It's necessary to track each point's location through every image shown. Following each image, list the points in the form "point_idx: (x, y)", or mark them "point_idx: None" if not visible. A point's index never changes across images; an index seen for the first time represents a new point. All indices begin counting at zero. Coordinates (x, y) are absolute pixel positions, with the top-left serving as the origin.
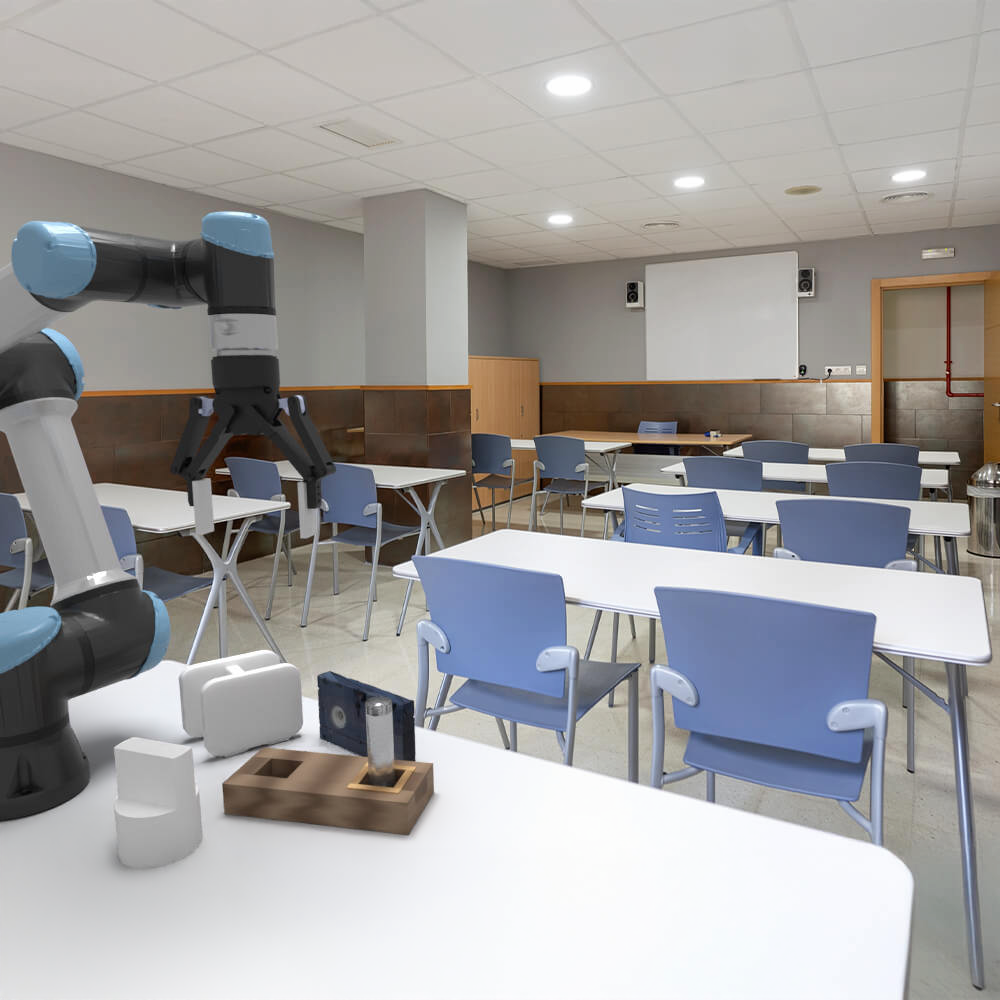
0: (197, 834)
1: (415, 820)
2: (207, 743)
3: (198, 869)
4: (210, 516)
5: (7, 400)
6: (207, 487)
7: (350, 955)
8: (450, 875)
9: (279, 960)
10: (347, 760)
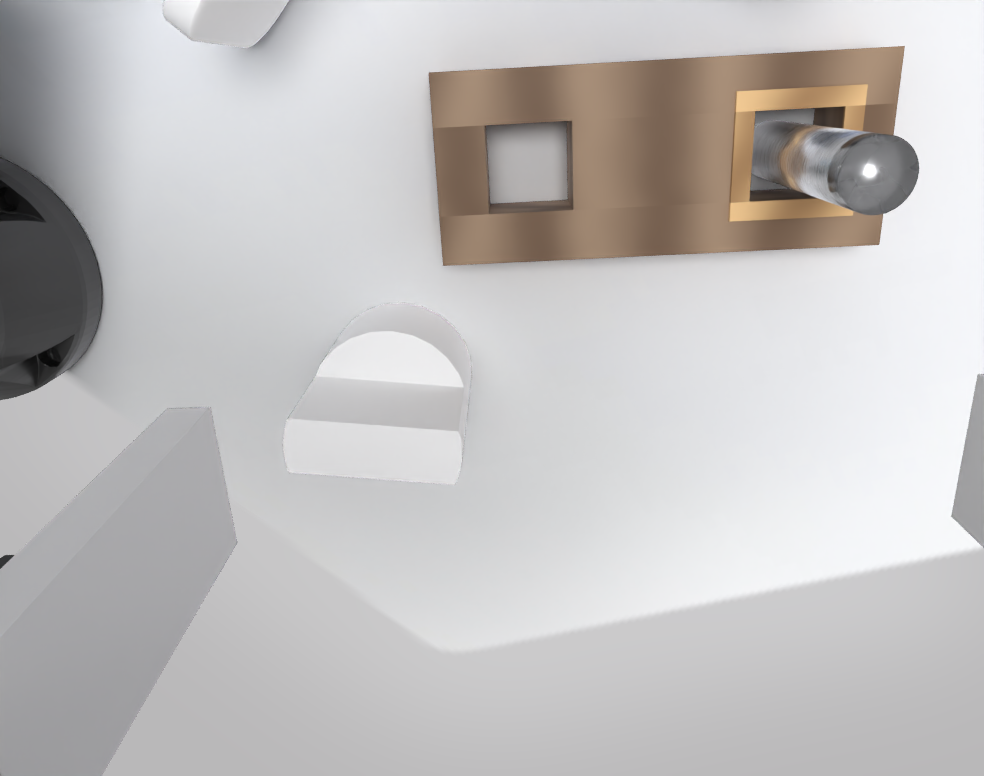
0: (469, 366)
1: None
2: (244, 46)
3: (513, 414)
4: (171, 489)
5: None
6: (48, 671)
7: (834, 523)
8: (950, 330)
9: (742, 550)
10: (679, 87)
